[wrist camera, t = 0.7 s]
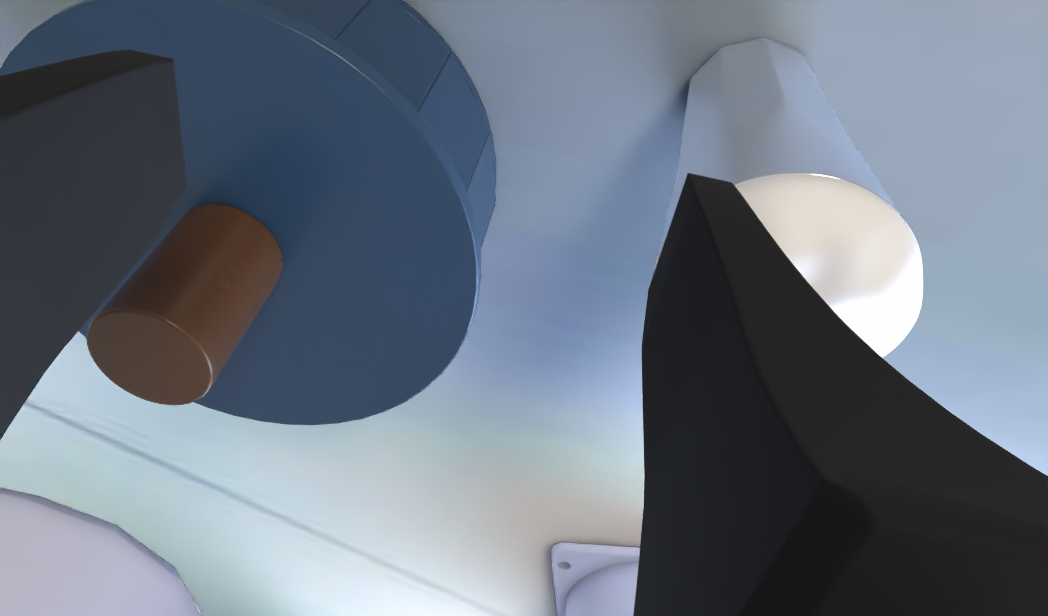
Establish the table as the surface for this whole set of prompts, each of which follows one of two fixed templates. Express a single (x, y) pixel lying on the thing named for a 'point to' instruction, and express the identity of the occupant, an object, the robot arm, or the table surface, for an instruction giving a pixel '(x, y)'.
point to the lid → (280, 222)
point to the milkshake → (803, 185)
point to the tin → (415, 80)
